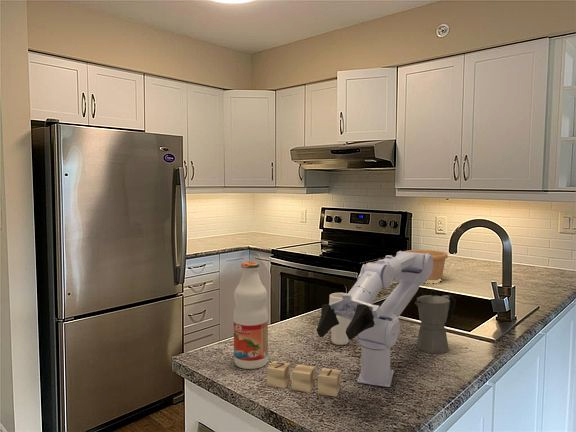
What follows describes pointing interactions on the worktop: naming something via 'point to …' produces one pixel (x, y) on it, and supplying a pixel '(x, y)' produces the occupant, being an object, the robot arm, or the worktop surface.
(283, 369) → the block seven
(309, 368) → the plain block
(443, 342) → the coffeepot
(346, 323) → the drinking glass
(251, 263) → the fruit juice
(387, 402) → the worktop surface
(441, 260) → the pottery
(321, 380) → the block one
